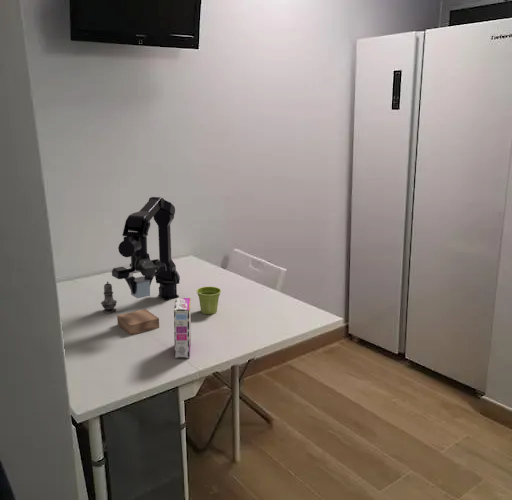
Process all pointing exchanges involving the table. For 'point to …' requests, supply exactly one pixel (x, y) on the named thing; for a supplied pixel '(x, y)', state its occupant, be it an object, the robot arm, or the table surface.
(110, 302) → the dark grey tall piece
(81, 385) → the table surface
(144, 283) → the slate tin
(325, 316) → the table surface
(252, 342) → the table surface
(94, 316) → the table surface
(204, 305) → the plant pot
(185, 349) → the candy bar box
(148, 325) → the walnut block
